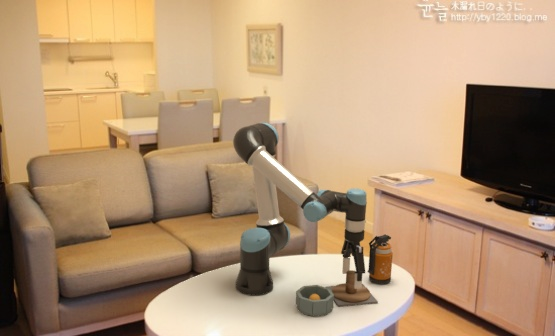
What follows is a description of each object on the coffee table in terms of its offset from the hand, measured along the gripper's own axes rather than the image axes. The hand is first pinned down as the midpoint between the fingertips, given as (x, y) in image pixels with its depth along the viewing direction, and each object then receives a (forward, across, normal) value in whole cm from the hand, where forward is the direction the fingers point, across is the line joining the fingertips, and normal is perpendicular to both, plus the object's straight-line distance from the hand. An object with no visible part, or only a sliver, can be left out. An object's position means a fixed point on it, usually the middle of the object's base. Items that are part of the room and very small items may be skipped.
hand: (351, 280), depth 220 cm
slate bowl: (+6, -7, +17) cm, 19 cm away
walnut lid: (+6, 0, 0) cm, 6 cm away
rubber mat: (+6, 0, 0) cm, 6 cm away
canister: (+7, +11, -16) cm, 21 cm away
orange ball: (+3, -7, +17) cm, 19 cm away
